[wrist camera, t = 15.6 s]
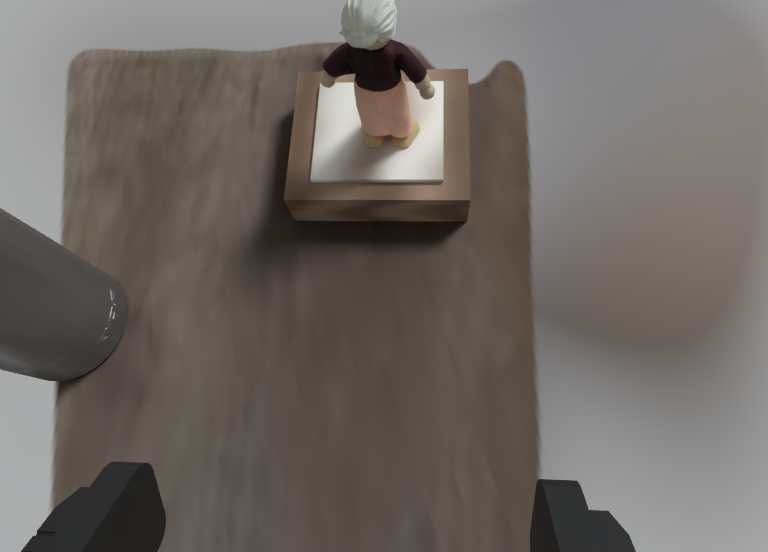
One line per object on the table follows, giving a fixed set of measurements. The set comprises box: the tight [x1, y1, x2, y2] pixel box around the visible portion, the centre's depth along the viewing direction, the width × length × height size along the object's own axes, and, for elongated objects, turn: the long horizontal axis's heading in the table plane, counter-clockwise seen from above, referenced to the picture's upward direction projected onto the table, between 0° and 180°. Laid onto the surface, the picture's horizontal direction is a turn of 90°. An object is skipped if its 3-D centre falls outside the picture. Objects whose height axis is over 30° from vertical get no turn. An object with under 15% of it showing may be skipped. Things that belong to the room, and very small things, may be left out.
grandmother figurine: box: [320, 0, 435, 149], centre depth 35 cm, size 8×4×13 cm, turn 92°
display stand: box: [284, 69, 470, 222], centre depth 43 cm, size 14×12×4 cm
